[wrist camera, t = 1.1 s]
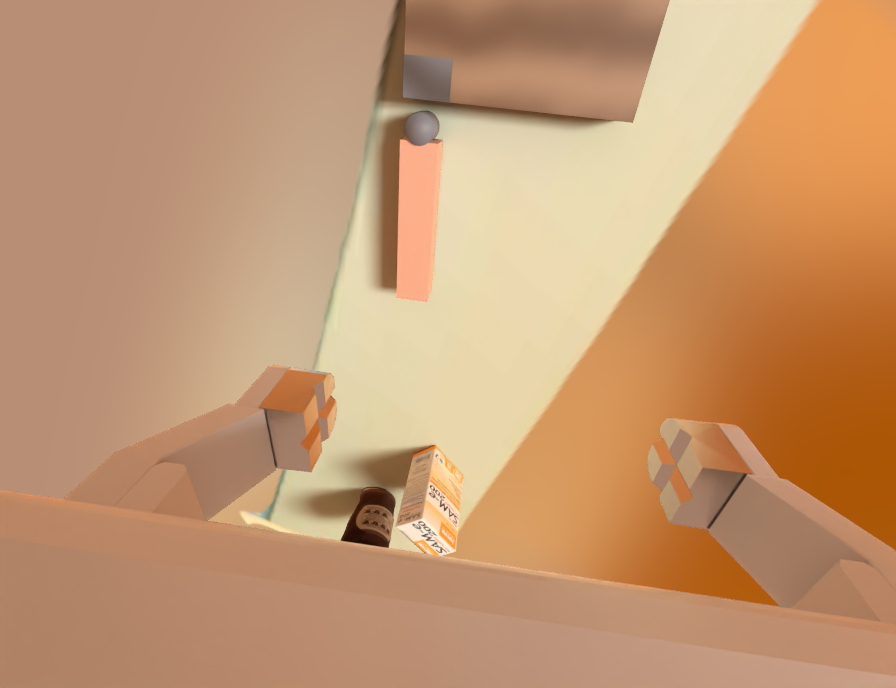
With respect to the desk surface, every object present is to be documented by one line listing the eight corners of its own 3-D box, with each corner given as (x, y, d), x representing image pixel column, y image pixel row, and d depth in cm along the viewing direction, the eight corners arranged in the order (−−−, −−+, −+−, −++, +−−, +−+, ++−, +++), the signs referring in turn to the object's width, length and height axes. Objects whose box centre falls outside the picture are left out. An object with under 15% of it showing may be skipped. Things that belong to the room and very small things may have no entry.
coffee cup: (368, 474, 68) (343, 548, 57) (410, 494, 70) (393, 570, 59) (347, 499, 72) (321, 572, 62) (387, 518, 74) (368, 591, 63)
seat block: (417, -67, 32) (407, -87, 28) (667, -44, 31) (689, -61, 27) (411, 96, 38) (402, 97, 34) (620, 119, 37) (633, 122, 33)
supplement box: (465, 474, 65) (458, 552, 54) (441, 483, 67) (429, 560, 56) (436, 443, 62) (422, 519, 51) (411, 453, 64) (393, 528, 53)
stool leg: (408, 108, 38) (399, 110, 35) (445, 112, 38) (439, 115, 35) (403, 284, 48) (396, 298, 45) (431, 287, 48) (426, 302, 45)
